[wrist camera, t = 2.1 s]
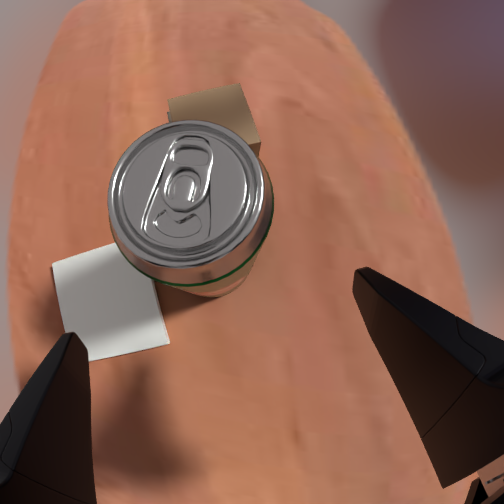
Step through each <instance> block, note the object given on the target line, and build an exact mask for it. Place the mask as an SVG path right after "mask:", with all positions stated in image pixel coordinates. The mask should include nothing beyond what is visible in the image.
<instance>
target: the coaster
mask: <svg viewBox="0 0 504 504" xmlns="http://www.w3.org/2000/svg"><path fill="white" fill-rule="evenodd" d="M52 267H53V273H54V279H55V285H56V291H57V296H58V301H59V306H60V311H61V316H62V320H63V325H64V329H65V333H68V332H75V333H76V334H77V335H78V337H79V338H80V339H81V341H82V342H83V343H84V345H85V346H86V348H87V350H88V358H89V361H93V360H98V359H103V358H108V357H113V356H118V355H122V354H127V353H131V352H136V351H140V350H145V349H149V348H153V347H158V346H162V345H166V344H169V343H170V340H169V337H168V334H167V330H166V326H165V323H164V319H163V316H162V312H161V308H160V305H159V301H158V297H157V293H156V289H155V285H154V281H153V280H152V279H150V278H148V277H146V276H145V275H143V274H142V273H140V272H139V271H137V270H136V269H135V268H134V267H133V266H132V265H131V264H130V263H128V261H127V260H126V259H125V257H124V256H123V255H122V254H121V252H120V250H119V249H118V247H117V245H116V243H113V244H110V245H106V246H103V247H100V248H97V249H94V250H91V251H88V252H84V253H81V254H78V255H75V256H72V257H69V258H66V259H63V260H60V261H57V262H54V263H52Z"/></svg>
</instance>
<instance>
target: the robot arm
mask: <svg viewBox="0 0 504 504" xmlns="http://www.w3.org/2000/svg"><path fill="white" fill-rule="evenodd" d="M353 295H354V298H355V300H356V303H357V305H358V308H359V310H360V312H361V315H362V317H363V320H364V322H365V325H366V327H367V330H368V332H369V335H370V337H371V339H372V341H373V342H374V344H375V346H376V348H377V350H378V352H379V354H380V356H381V358H382V360H383V362H384V364H385V365H386V367H387V369H388V371H389V373H390V375H391V377H392V379H393V381H394V383H395V385H396V387H397V389H398V391H399V393H400V395H401V397H402V399H403V401H404V404H405V406H406V408H407V410H408V412H409V414H410V416H411V418H412V420H413V422H414V425H415V427H416V429H417V431H418V433H419V435H420V438H422V439H421V440H422V442H423V444H424V447H425V449H426V451H427V453H428V456H429V458H430V460H431V463H432V465H433V467H434V470H435V472H436V474H437V477H438V479H439V481H440V484H441V486H442V488H443V489H444V488H446V487H448V486H450V485H452V484H454V483H456V482H458V481H460V480H461V479H463V478H465V477H467V476H469V475H471V474H473V473H474V472H476V471H477V473H478V475H479V477H478V478H477V479H475V480H474V481H472V483H471V486H470V489H469V492H468V495H467V498H466V501H465V503H464V504H504V341H503V340H501V339H499V338H497V337H495V336H493V335H491V334H489V333H487V332H485V331H483V330H481V329H479V328H477V327H475V326H473V325H472V324H470V323H468V322H466V321H464V320H463V319H461V318H459V317H458V316H456V317H455V315H454V314H452V313H450V312H449V311H447V310H445V309H444V308H442V307H440V306H438V305H437V304H435V303H433V302H431V301H429V300H428V299H426V298H424V297H422V296H421V295H419V294H417V293H415V292H413V291H412V290H410V289H408V288H406V287H404V286H403V285H401V284H399V283H397V282H395V281H393V280H392V279H390V278H388V277H386V276H384V275H382V274H380V273H379V272H377V271H375V270H373V269H371V268H369V267H363V268H359V269H357V270H355V273H354V280H353ZM0 504H97V501H96V493H95V484H94V473H93V459H92V441H91V389H90V376H89V358H88V350H87V348H86V346H85V345H84V343H83V342H82V341H81V339H80V338H79V337H78V335H77V334H76V333H75V332H68V333H64V334H62V336H61V337H60V338H59V340H58V341H57V342H56V344H55V345H54V346H53V348H52V349H51V350H50V352H49V353H48V354H47V356H46V357H45V358H44V360H43V361H42V363H41V364H40V365H39V367H38V368H37V370H36V371H35V372H34V374H33V375H32V377H31V378H30V380H29V381H28V383H27V384H26V386H25V387H24V388H23V390H22V391H21V393H20V394H19V396H18V397H17V399H16V400H15V402H14V404H13V405H12V407H11V408H10V410H9V412H8V413H7V415H6V416H5V418H4V419H3V421H2V422H1V424H0Z"/></svg>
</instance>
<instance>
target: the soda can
mask: <svg viewBox="0 0 504 504" xmlns="http://www.w3.org/2000/svg"><path fill="white" fill-rule="evenodd" d="M108 210H109V222H110V228H111V232H112V235H113V238H114V241H115V243H116V245H117V247H118V249H119V250H120V252H121V254H122V255H123V256H124V257H125V259H126V260H127V261H128V263H130V264H131V265H132V266H133V267H134V268H135V269H136V270H137V271H139V272H140V273H142V274H143V275H145V276H146V277H148V278H150V279H152V280H155V281H157V282H160V283H162V284H165V285H168V286H171V287H174V288H177V289H180V290H183V291H186V292H189V293H192V294H195V295H199V296H203V297H220V296H223V295H226V294H229V293H231V292H232V291H234V290H235V289H237V288H238V287H239V286H240V285H241V284H242V283H243V282H244V281H245V279H246V278H247V276H248V274H249V272H250V270H251V268H252V266H253V264H254V262H255V260H256V258H257V256H258V254H259V251H260V249H261V247H262V245H263V243H264V241H265V239H266V237H267V235H268V232H269V229H270V226H271V223H272V218H273V213H274V194H273V187H272V183H271V180H270V177H269V174H268V172H267V170H266V168H265V166H264V165H263V163H262V161H261V160H260V159H259V157H258V156H257V155H256V154H255V153H254V151H253V150H252V149H251V148H250V146H249V145H248V144H247V143H246V142H245V141H244V140H243V139H242V138H241V137H240V136H239V135H237V134H236V133H234V132H233V131H231V130H230V129H228V128H226V127H224V126H222V125H219V124H216V123H213V122H209V121H203V120H180V121H174V122H170V123H166V124H163V125H161V126H158V127H156V128H154V129H152V130H150V131H148V132H147V133H145V134H143V135H142V136H141V137H139V138H138V139H137V140H136V141H134V142H133V143H132V144H131V145H130V147H129V148H128V149H127V150H126V151H125V152H124V154H123V155H122V156H121V158H120V159H119V161H118V163H117V165H116V167H115V169H114V171H113V174H112V176H111V179H110V183H109V189H108Z"/></svg>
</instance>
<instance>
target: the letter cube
mask: <svg viewBox="0 0 504 504" xmlns="http://www.w3.org/2000/svg"><path fill="white" fill-rule="evenodd" d="M168 105H169V110H170V111H169V112H167V114H168V119H169V123H170V122H174V121H180V120H203V121H209V122H213V123H216V124H219V125H222V126H224V127H226V128H228V129H230V130H231V131H233V132H234V133H236V134H237V135H239V136H240V137H241V138H242V139H243V140H244V141H245V142H246V143H247V144H248V145H249V146H250V148H251V149H252V150H253V151H254V153H255V154H256V155H257V156H259V151H260V145H261V140H260V137H259V134H258V131H257V129H256V126H255V123H254V120H253V118H252V115H251V112H250V109H249V107H248V104H247V101H246V99H245V96H244V93H243V91H242V88H241V85H240V83H238V84H233V85H227V86H222V87H218V88H213V89H208V90H204V91H199V92H195V93H191V94H187V95H183V96H179V97H175V98H172V99H168Z"/></svg>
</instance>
